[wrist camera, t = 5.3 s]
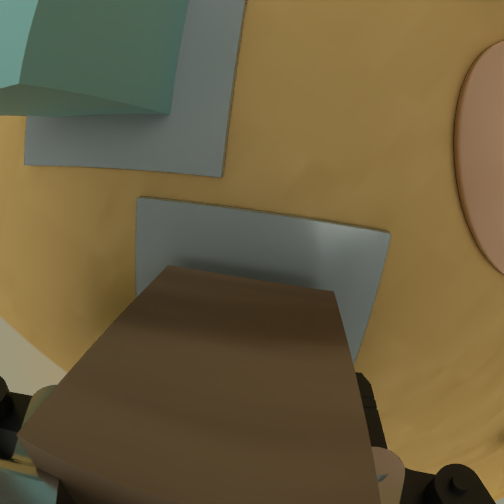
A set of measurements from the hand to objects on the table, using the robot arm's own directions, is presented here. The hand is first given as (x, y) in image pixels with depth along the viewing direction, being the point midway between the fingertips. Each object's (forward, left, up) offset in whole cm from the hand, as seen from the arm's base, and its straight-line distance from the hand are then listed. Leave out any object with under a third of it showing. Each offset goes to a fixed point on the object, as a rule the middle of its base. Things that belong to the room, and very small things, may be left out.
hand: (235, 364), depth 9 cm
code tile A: (0, 0, -3) cm, 3 cm away
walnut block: (0, 0, -1) cm, 1 cm away
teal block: (-10, -6, -3) cm, 12 cm away
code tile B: (-10, -6, -3) cm, 12 cm away
